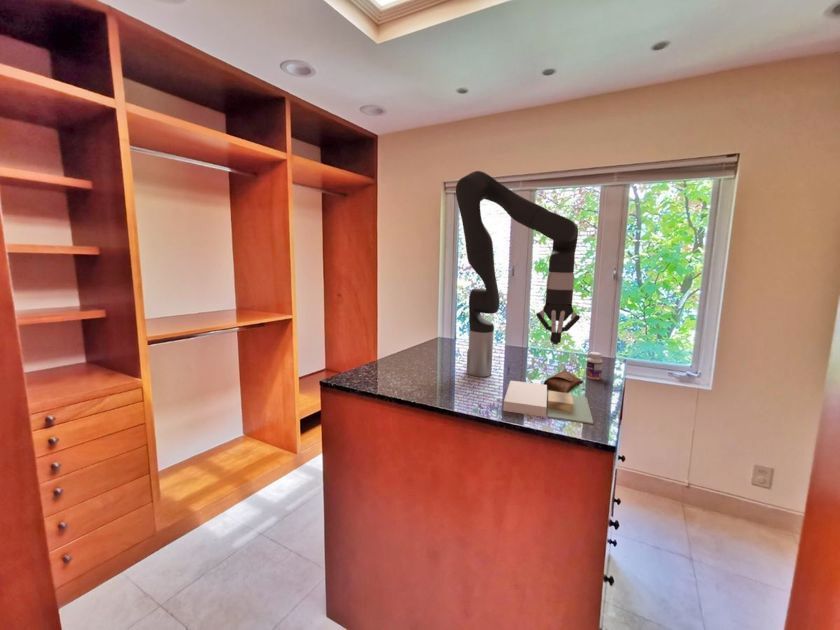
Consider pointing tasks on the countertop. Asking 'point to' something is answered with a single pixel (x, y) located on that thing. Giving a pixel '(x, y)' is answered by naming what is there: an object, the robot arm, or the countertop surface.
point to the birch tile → (560, 401)
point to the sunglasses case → (562, 382)
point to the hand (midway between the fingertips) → (555, 343)
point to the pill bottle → (594, 366)
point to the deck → (526, 398)
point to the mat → (574, 411)
